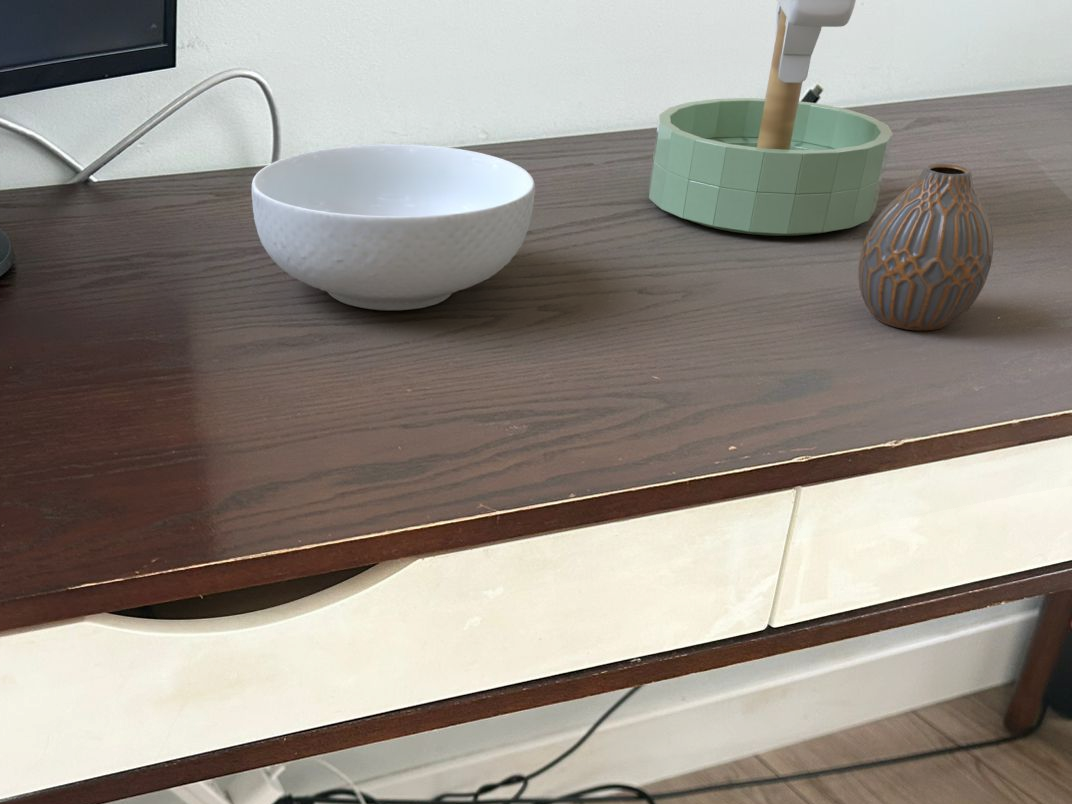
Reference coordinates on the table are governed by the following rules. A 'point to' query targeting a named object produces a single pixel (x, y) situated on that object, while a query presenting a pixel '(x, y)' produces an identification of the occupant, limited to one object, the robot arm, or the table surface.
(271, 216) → the cereal bowl
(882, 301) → the vase
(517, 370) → the table surface
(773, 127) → the stirring stick
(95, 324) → the table surface
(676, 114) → the green round tub
